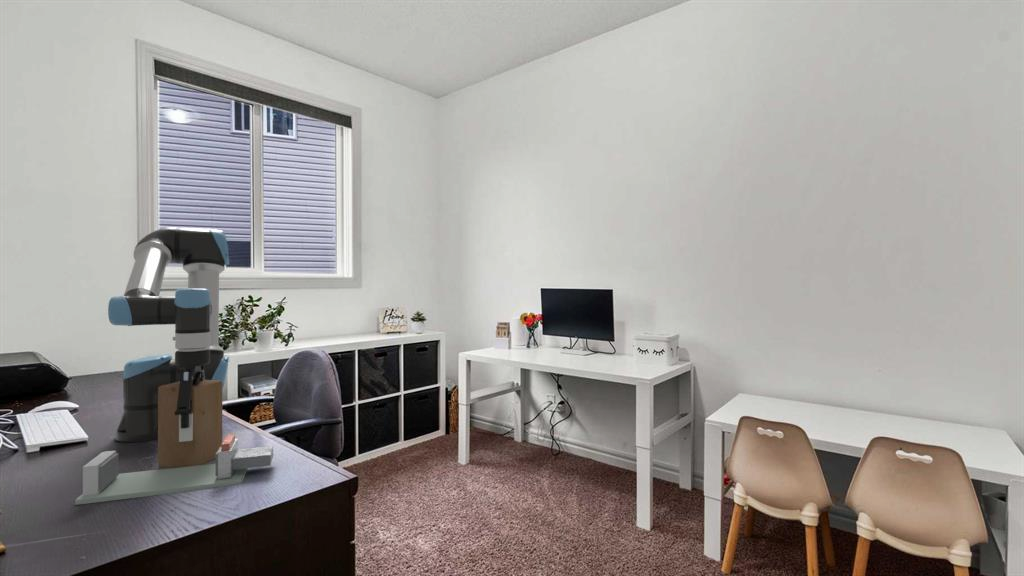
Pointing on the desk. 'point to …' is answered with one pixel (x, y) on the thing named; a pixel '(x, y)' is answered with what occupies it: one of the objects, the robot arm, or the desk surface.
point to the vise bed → (145, 480)
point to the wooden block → (204, 425)
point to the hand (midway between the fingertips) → (192, 433)
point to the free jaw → (239, 457)
